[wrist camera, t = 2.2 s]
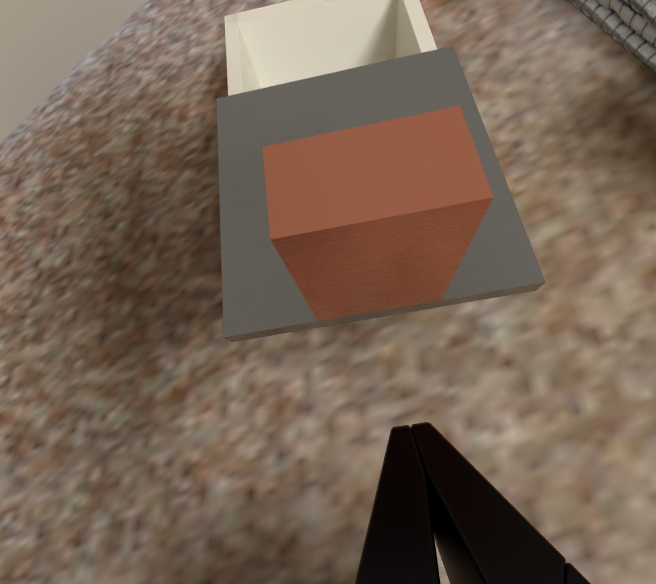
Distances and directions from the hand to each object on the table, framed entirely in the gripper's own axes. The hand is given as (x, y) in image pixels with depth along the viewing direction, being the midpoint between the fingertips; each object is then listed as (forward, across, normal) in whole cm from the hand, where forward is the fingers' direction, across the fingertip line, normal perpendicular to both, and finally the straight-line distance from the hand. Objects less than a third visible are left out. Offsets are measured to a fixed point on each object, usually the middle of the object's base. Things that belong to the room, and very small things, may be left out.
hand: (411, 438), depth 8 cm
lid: (+10, 0, -4) cm, 11 cm away
